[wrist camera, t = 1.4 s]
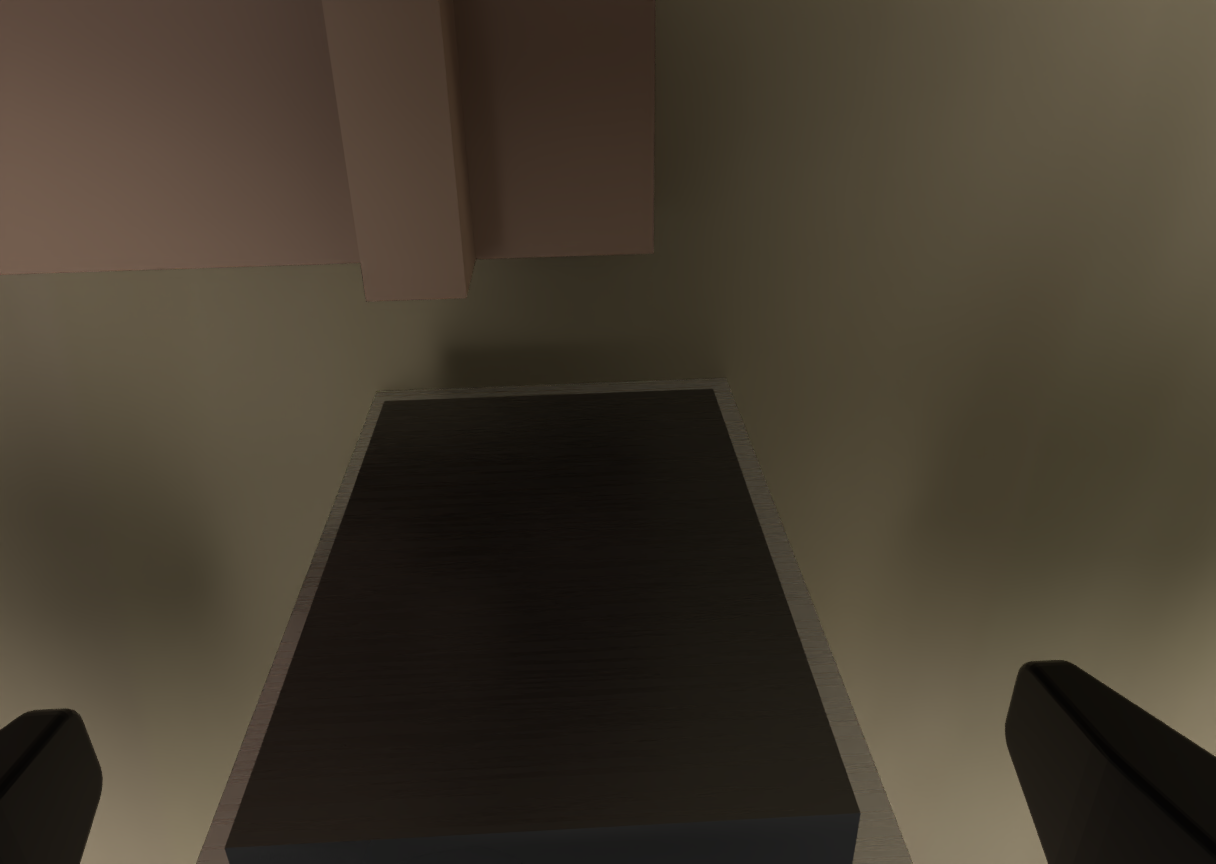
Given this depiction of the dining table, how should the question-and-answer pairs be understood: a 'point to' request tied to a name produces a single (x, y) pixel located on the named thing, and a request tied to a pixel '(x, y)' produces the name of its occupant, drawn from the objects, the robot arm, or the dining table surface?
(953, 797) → the dining table surface
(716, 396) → the block
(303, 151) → the rail
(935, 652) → the dining table surface
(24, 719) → the robot arm
